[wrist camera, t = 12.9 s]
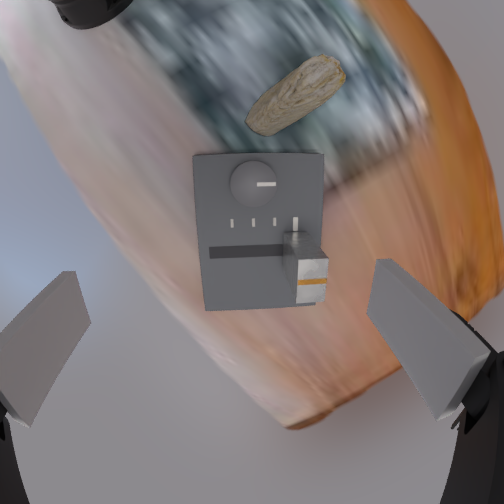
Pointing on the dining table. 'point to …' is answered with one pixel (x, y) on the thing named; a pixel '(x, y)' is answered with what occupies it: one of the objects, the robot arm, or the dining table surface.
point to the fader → (304, 267)
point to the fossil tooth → (296, 95)
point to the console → (253, 223)
